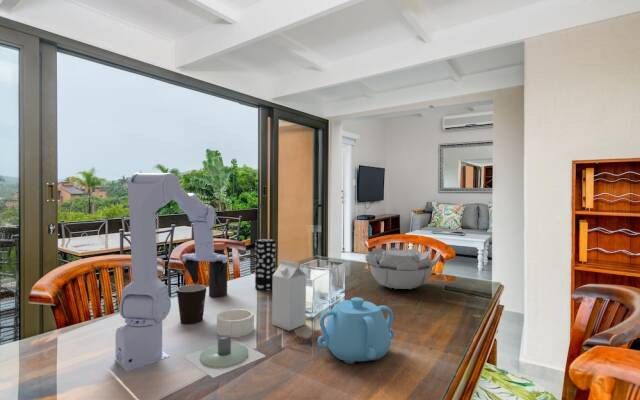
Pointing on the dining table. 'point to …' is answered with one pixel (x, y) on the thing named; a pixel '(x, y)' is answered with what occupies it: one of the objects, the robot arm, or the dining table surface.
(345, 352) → the decorative pot
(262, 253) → the spotted tube
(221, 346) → the lid
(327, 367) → the dining table surface
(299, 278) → the milk carton
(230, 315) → the bowl
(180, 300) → the coffee mug
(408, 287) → the decorative bowl
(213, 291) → the bottle
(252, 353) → the mat
